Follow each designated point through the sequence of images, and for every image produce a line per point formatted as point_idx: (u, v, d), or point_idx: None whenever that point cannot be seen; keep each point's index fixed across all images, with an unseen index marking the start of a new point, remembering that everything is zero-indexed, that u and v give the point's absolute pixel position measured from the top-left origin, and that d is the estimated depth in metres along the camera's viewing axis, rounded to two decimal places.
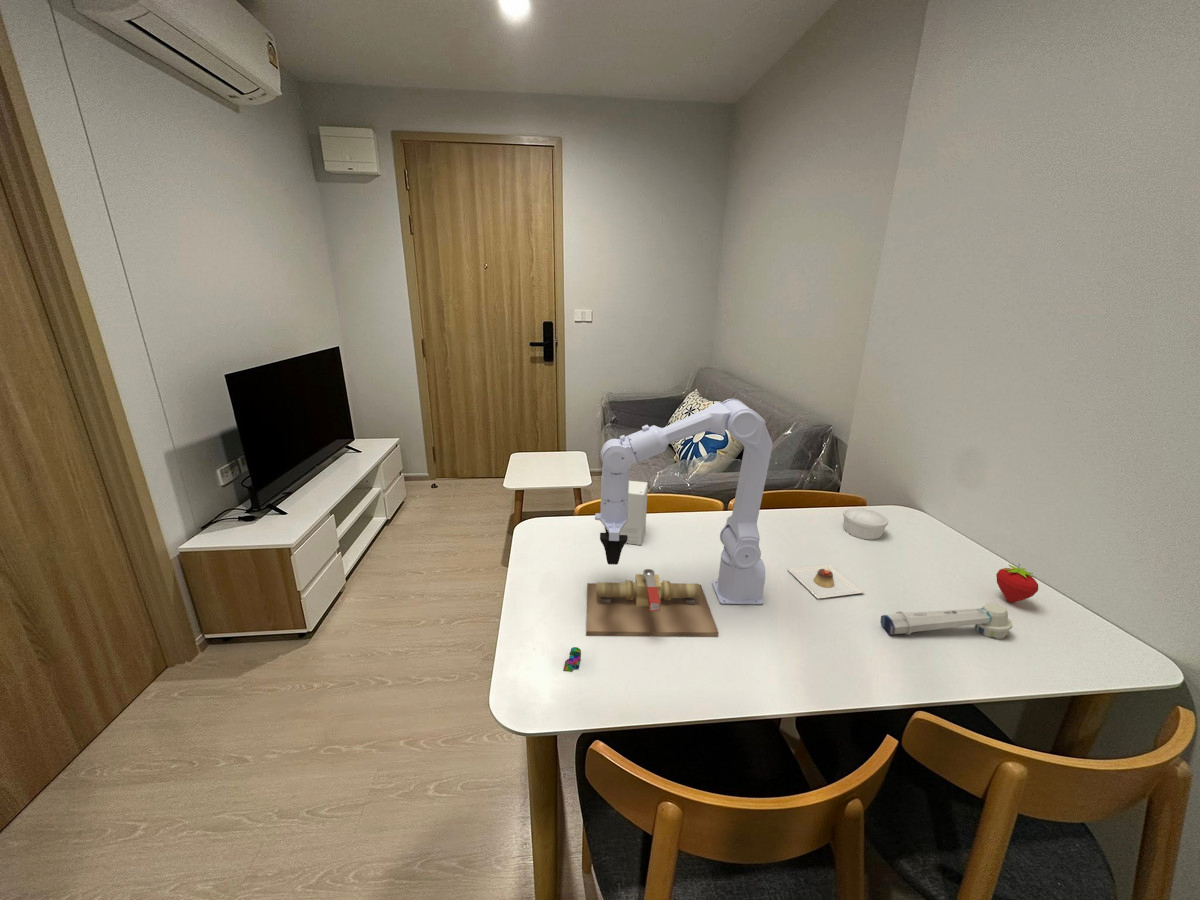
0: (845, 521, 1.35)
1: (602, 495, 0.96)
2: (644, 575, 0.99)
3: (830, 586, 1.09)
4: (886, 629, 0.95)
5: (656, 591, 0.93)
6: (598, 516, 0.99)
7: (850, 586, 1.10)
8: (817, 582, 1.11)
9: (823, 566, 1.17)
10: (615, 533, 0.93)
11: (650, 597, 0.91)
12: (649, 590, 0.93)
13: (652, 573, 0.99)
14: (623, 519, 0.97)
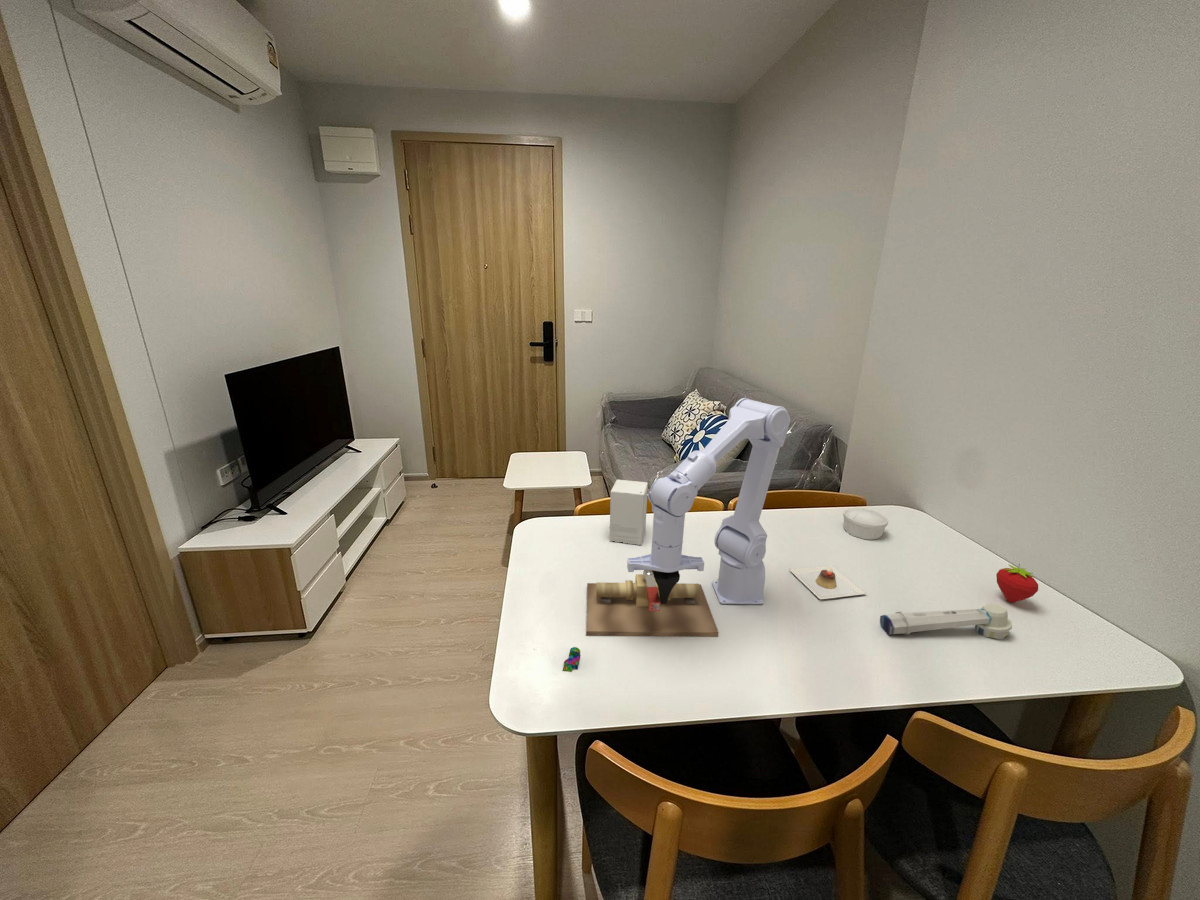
0: (845, 521, 1.35)
1: (661, 542, 0.86)
2: (644, 575, 0.99)
3: (832, 587, 1.09)
4: (885, 629, 0.95)
5: (656, 591, 0.93)
6: None
7: (852, 587, 1.09)
8: (819, 583, 1.10)
9: (825, 567, 1.17)
10: (628, 562, 0.89)
11: (650, 597, 0.91)
12: (649, 590, 0.93)
13: (652, 573, 0.99)
14: (656, 564, 0.88)
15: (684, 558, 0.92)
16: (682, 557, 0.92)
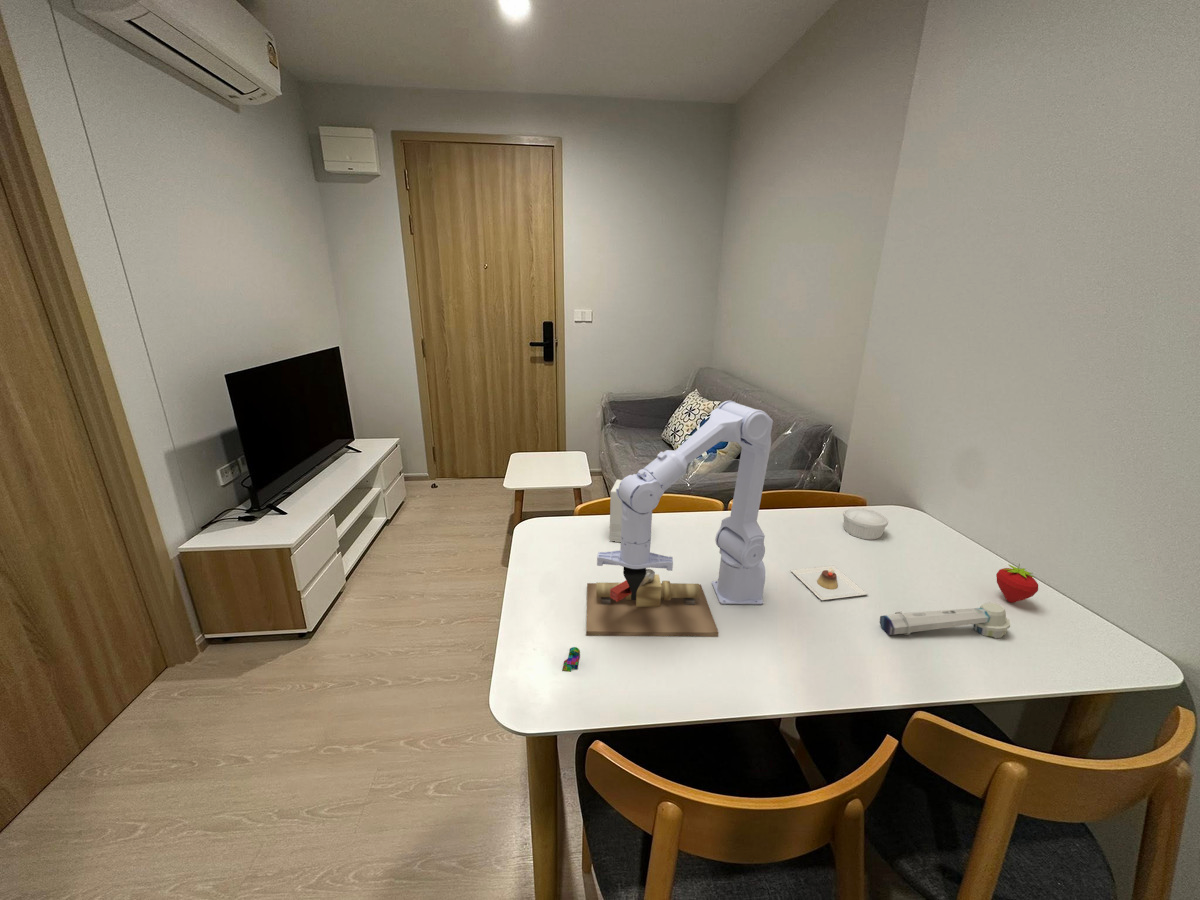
0: (845, 521, 1.35)
1: (626, 538, 0.87)
2: None
3: (834, 588, 1.09)
4: (885, 629, 0.95)
5: (628, 585, 0.94)
6: None
7: (854, 588, 1.09)
8: (821, 584, 1.10)
9: (827, 567, 1.17)
10: (597, 556, 0.91)
11: (616, 586, 0.94)
12: (624, 582, 0.95)
13: (650, 574, 0.99)
14: (623, 560, 0.89)
15: (655, 556, 0.92)
16: (653, 555, 0.92)
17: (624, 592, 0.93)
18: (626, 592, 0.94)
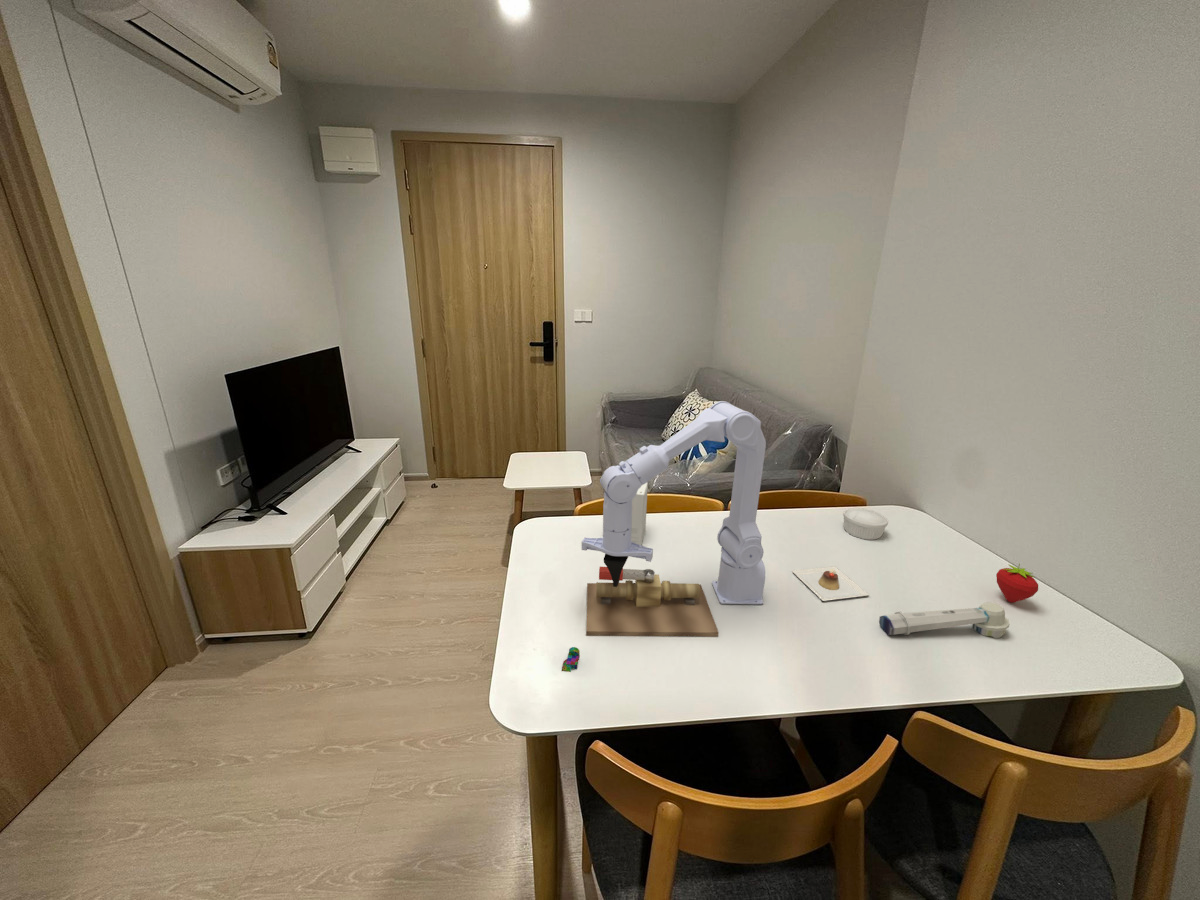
0: (845, 521, 1.35)
1: (606, 526, 0.92)
2: None
3: (835, 588, 1.09)
4: (885, 630, 0.95)
5: None
6: None
7: (855, 588, 1.09)
8: (822, 584, 1.10)
9: (828, 568, 1.16)
10: None
11: (606, 567, 1.00)
12: None
13: (646, 574, 0.99)
14: (604, 547, 0.94)
15: (637, 547, 0.95)
16: (635, 546, 0.96)
17: (608, 574, 0.99)
18: None
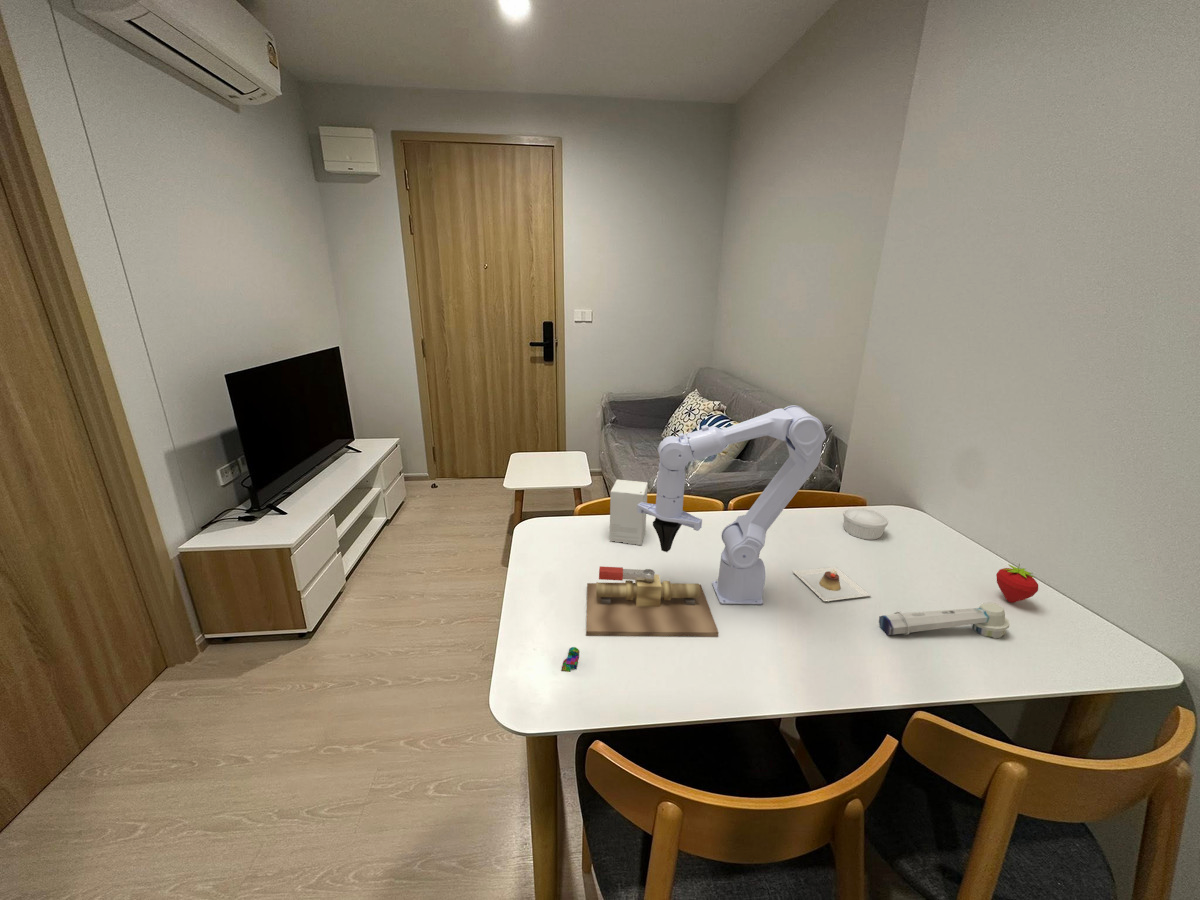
0: (845, 521, 1.35)
1: (658, 491, 0.98)
2: None
3: (836, 589, 1.08)
4: (884, 629, 0.95)
5: (615, 571, 0.99)
6: None
7: (856, 589, 1.09)
8: (823, 585, 1.10)
9: (829, 569, 1.16)
10: None
11: (606, 567, 1.01)
12: (617, 568, 1.00)
13: (646, 574, 0.99)
14: (656, 511, 1.01)
15: (688, 516, 1.00)
16: (687, 515, 1.00)
17: (608, 574, 0.99)
18: (611, 576, 0.99)
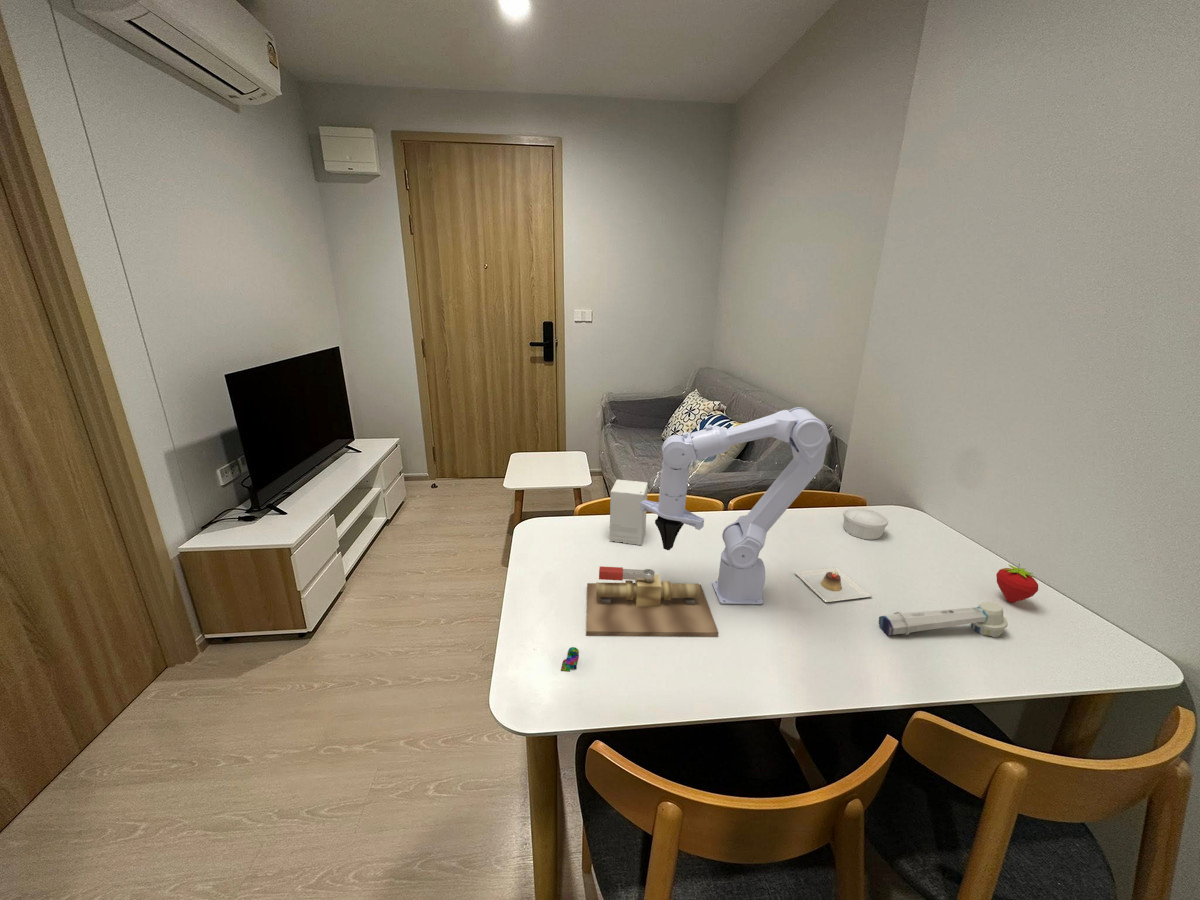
0: (845, 521, 1.35)
1: (661, 489, 0.99)
2: None
3: (838, 590, 1.08)
4: (884, 630, 0.95)
5: (615, 571, 0.99)
6: None
7: (858, 590, 1.09)
8: (824, 585, 1.09)
9: (830, 569, 1.16)
10: None
11: (606, 567, 1.01)
12: (617, 568, 1.00)
13: (646, 574, 0.99)
14: (658, 509, 1.01)
15: (690, 515, 1.01)
16: (689, 514, 1.01)
17: (608, 574, 0.99)
18: (611, 576, 0.99)
